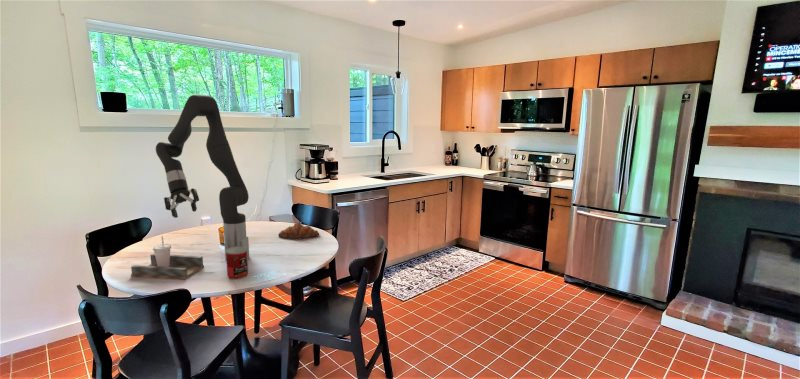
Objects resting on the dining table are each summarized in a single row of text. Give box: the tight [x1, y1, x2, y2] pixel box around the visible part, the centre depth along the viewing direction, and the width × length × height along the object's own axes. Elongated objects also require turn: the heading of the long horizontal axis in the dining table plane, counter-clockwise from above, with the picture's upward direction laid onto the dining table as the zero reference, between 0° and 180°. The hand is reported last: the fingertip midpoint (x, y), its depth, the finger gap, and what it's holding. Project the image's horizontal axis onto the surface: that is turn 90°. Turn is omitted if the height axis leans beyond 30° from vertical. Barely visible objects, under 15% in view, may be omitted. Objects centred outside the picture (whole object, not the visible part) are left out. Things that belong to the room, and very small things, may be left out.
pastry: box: [277, 221, 320, 240], centre depth 204 cm, size 17×15×8 cm
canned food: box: [225, 246, 249, 280], centre depth 151 cm, size 8×8×11 cm
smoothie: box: [152, 235, 172, 267], centre depth 152 cm, size 6×6×14 cm
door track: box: [130, 253, 205, 281], centre depth 153 cm, size 22×13×5 cm, turn 86°
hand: (185, 214), depth 171 cm, fingers open, 8 cm apart
